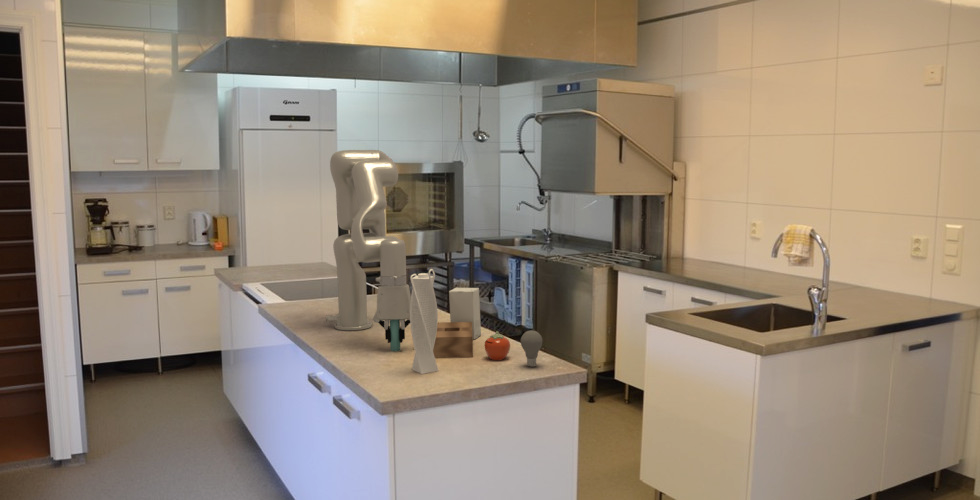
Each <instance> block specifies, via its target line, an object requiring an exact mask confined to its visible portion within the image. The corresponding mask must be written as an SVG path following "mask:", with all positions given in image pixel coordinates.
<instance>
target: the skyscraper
mask: <svg viewBox="0 0 980 500" xmlns="http://www.w3.org/2000/svg"><path fill="white" fill-rule="evenodd" d="M431 272H432V274H433V275H431ZM409 279H410V282H411V285H412V289H411V293H410V295H411V302H410V324H409V325H410V331H411V337H412V344H413V348H414V356H413V359H412V360H413V362H412V366H411V370H412V371H414V372H416V373H418V374H421V375H424V374H429V373H430V374H431V373H434V372H439V367H438V364H437V361H436V358H435V357H434V353H433V348H434V344H435V339H436V332H437V322H438V317H439V316H438V315H439V314H438V304H437V298H436V293H435V289H434V282H435V279H436V273H435V270H434V269H433V268H430V269H429V270H428V273H425V272H421V273H413V274H411V275H410V278H409Z"/></svg>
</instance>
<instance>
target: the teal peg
mask: <svg viewBox="0 0 980 500" xmlns="http://www.w3.org/2000/svg"><path fill="white" fill-rule="evenodd" d="M389 326H390V343H389V344H390V347H389V348H390V351H391V352H400V351H401V343H400V336H399V330H400V326H401V324H400V320H389Z"/></svg>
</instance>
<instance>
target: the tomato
mask: <svg viewBox="0 0 980 500" xmlns="http://www.w3.org/2000/svg"><path fill="white" fill-rule="evenodd" d="M495 331H496V332H494V333H495V334H492V335H490V336H489V337H488V338H487V339H486V340H485V342H484V346H483V347H484V351H485V353H486V355H487V357H488V358H489V359H490V360H492V361H502V360H504V359H505V358H506V357H507V356H508V355H509V352H510V349H511V342H510V340H509V339H508V338H506V337H505V336H504V335H503V334H500V332H499V331H498V330H495Z"/></svg>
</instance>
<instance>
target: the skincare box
mask: <svg viewBox="0 0 980 500" xmlns="http://www.w3.org/2000/svg"><path fill="white" fill-rule="evenodd" d="M448 293H449V294H448V296H449V297H448V300H449V301H448V302H449V316H450V318H449V320H450V321H449V322H472V335H473V340H476V339H477V338H479V337H480V336H481V335H482V329H481V327H482V326H481V305H480V304H481V303H480V288H479V287H454V288H453V289H450V290H449V291H448Z"/></svg>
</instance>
